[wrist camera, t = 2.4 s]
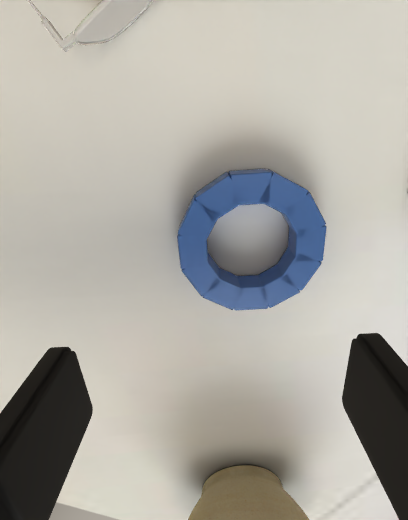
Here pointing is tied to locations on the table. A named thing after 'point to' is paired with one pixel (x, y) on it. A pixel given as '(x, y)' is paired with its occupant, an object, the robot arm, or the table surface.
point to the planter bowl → (245, 497)
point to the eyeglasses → (99, 22)
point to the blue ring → (272, 280)
